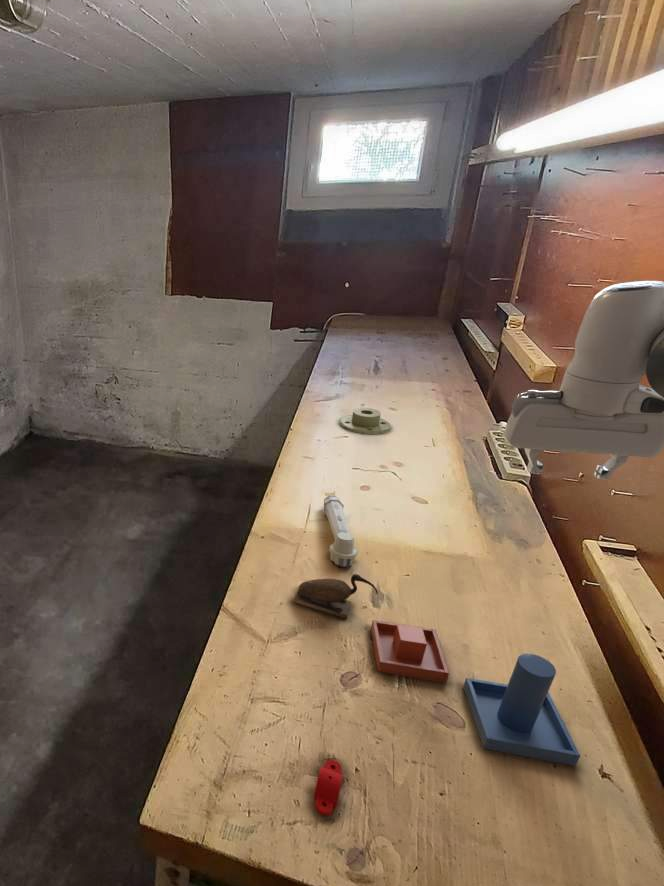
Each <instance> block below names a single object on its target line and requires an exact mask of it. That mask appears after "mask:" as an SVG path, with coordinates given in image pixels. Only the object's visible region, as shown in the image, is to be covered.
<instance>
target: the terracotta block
mask: <svg viewBox="0 0 664 886" xmlns="http://www.w3.org/2000/svg"><path fill="white" fill-rule="evenodd" d="M396 624H397V625H396V630H395V634H394V638H393V645H394V650H395V655H396V658H399V659H405V660H411V661H417V662H422V661H423V657H424V653H425V650H426V646H427V643H426V639H425V636H424V632H423V629H422V628H423V627H422V628H421V626H415V625H409V626H407V625H408V624H402V625H401V623H396ZM414 626H415V627H414Z"/></svg>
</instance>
